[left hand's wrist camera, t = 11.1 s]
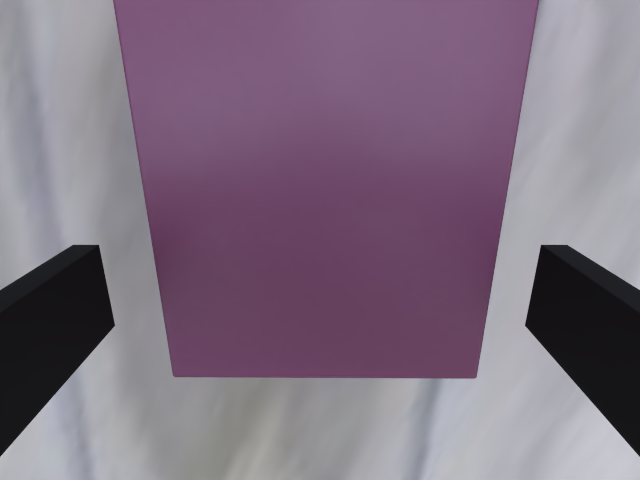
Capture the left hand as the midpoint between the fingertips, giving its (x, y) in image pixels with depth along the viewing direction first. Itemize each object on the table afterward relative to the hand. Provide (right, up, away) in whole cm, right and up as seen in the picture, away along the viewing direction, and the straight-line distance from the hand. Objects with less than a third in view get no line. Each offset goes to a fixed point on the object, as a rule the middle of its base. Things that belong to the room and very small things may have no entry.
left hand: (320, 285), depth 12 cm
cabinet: (0, +10, +8) cm, 13 cm away
